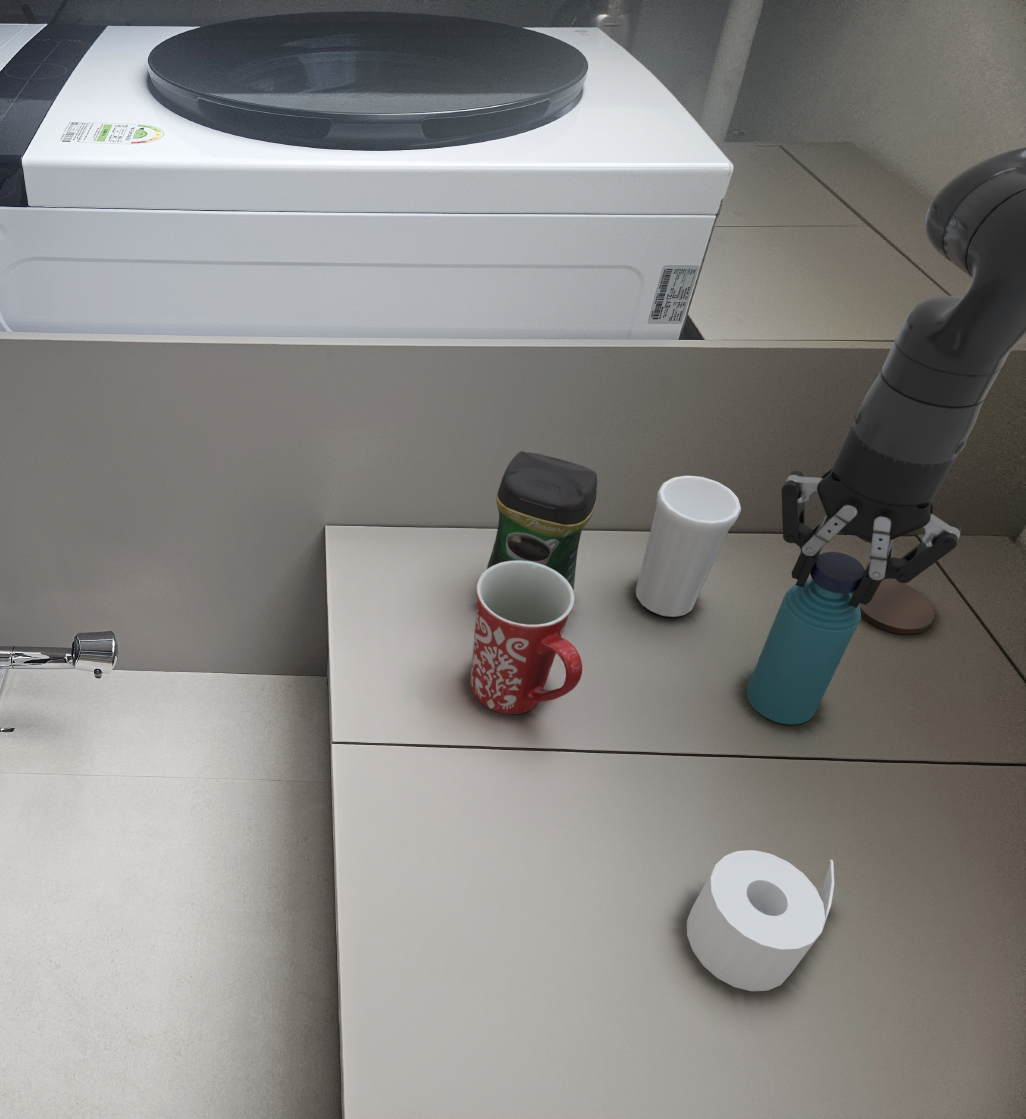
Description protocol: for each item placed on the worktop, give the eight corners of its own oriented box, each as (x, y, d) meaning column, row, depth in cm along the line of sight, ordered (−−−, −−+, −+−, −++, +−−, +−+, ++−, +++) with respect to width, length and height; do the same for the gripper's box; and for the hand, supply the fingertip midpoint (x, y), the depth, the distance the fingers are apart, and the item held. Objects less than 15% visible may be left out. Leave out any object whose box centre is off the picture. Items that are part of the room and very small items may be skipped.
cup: (699, 633, 104) (740, 532, 94) (621, 613, 106) (654, 513, 97) (704, 585, 110) (744, 484, 100) (631, 567, 112) (662, 467, 102)
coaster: (939, 603, 107) (942, 598, 106) (921, 645, 102) (924, 640, 102) (862, 573, 111) (864, 568, 110) (841, 612, 106) (844, 607, 106)
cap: (837, 599, 84) (843, 587, 83) (800, 573, 87) (805, 560, 86) (869, 584, 86) (875, 571, 85) (831, 558, 88) (836, 546, 87)
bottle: (823, 693, 97) (885, 565, 86) (805, 735, 94) (867, 606, 82) (757, 666, 100) (809, 539, 89) (737, 705, 97) (788, 578, 85)
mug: (442, 671, 100) (457, 576, 91) (515, 643, 103) (536, 548, 94) (515, 761, 92) (538, 667, 83) (591, 728, 95) (622, 633, 86)
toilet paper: (824, 912, 80) (856, 868, 76) (768, 1013, 74) (799, 972, 70) (728, 852, 85) (753, 807, 80) (668, 943, 78) (691, 900, 74)
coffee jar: (577, 594, 109) (613, 460, 96) (555, 640, 104) (590, 504, 91) (494, 567, 112) (519, 434, 100) (470, 609, 107) (492, 475, 95)
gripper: (1018, 439, 75) (922, 599, 86) (822, 384, 81) (758, 539, 92) (1004, 488, 70) (905, 650, 82) (799, 425, 77) (734, 583, 88)
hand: (827, 590), depth 87 cm, fingers closed on cap, 4 cm apart
